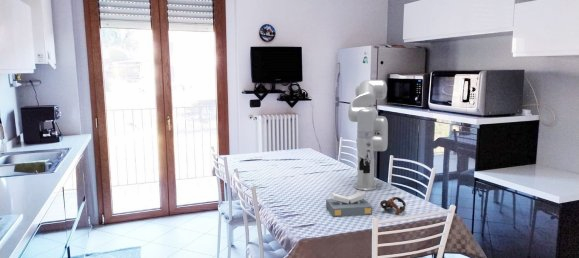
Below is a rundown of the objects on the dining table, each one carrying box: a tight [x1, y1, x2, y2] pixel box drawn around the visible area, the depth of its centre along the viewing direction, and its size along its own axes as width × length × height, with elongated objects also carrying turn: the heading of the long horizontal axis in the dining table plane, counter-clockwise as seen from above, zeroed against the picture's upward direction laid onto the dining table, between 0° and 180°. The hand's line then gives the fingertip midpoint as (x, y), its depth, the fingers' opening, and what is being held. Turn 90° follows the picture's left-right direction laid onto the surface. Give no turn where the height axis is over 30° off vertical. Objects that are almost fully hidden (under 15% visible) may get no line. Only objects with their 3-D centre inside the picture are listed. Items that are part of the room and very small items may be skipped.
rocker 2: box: [347, 190, 367, 203], centre depth 191 cm, size 8×4×2 cm, turn 98°
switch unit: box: [325, 198, 373, 218], centre depth 191 cm, size 19×14×5 cm
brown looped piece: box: [379, 196, 407, 216], centre depth 189 cm, size 12×10×8 cm
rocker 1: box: [330, 192, 350, 204], centre depth 190 cm, size 8×4×2 cm, turn 99°
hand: (364, 171), depth 190 cm, fingers open, 5 cm apart
